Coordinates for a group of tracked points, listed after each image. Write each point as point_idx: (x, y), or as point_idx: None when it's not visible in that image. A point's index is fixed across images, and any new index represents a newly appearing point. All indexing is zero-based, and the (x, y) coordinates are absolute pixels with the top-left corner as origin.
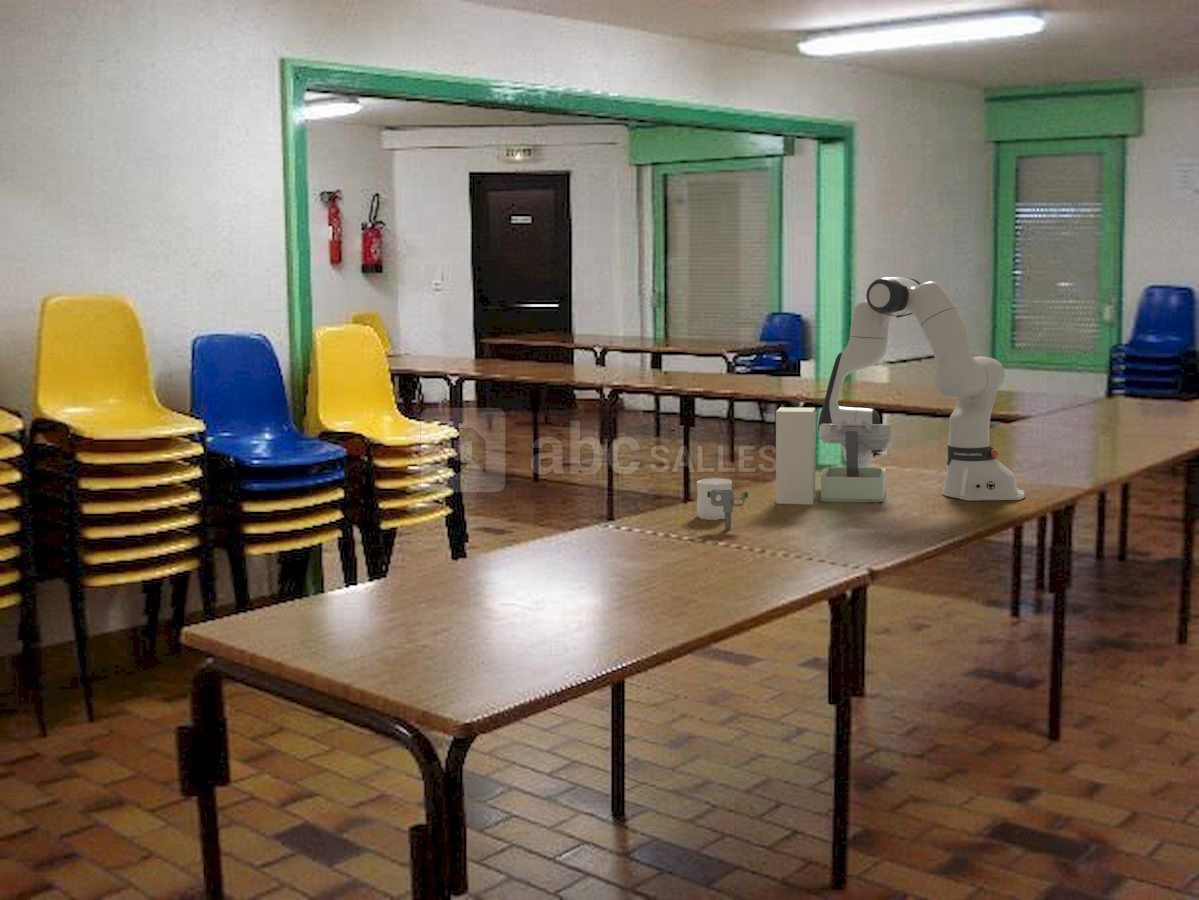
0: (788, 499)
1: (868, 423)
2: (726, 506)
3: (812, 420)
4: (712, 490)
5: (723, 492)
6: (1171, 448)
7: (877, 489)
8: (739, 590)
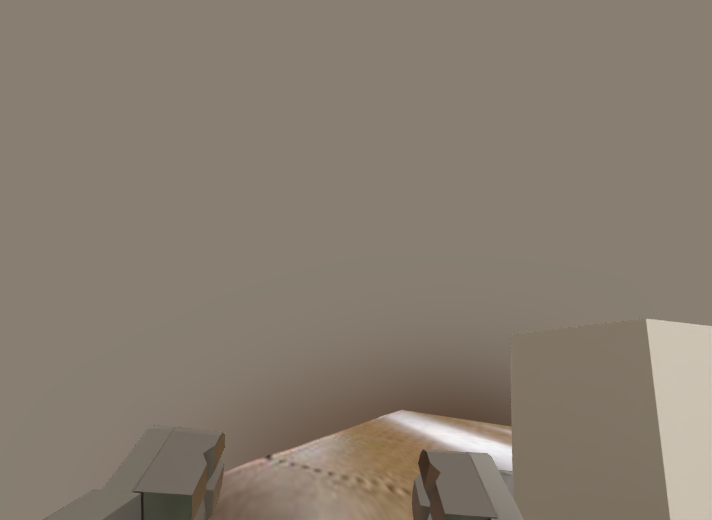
0: None
1: (58, 515)
2: None
3: (515, 379)
4: None
5: (508, 472)
6: None
7: None
8: (367, 443)
